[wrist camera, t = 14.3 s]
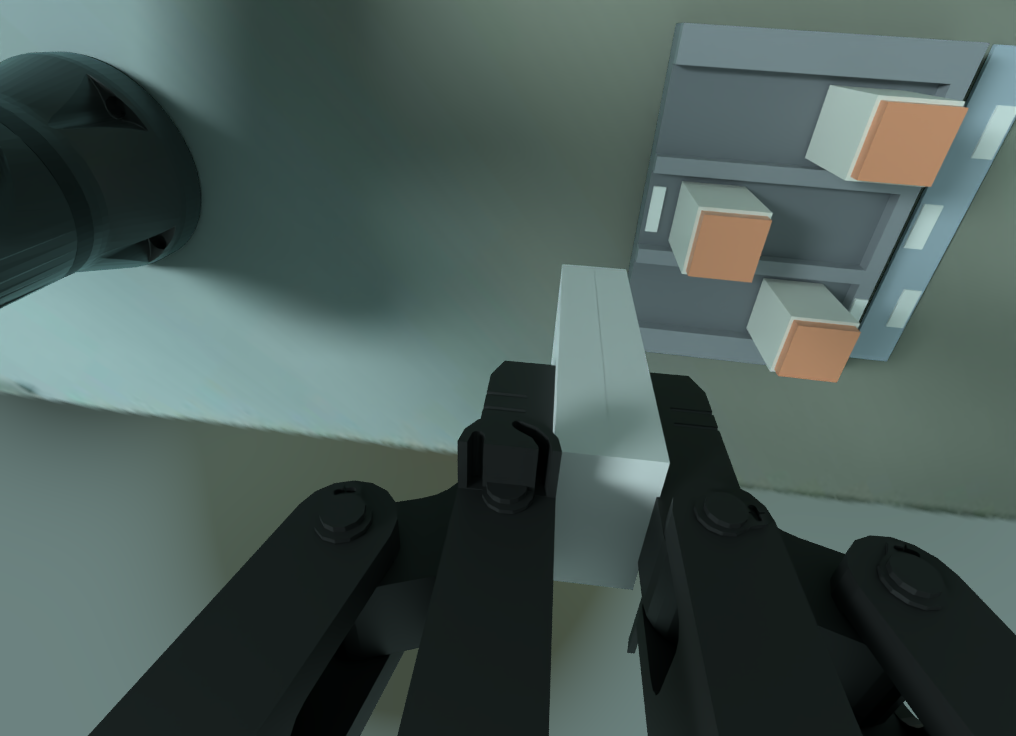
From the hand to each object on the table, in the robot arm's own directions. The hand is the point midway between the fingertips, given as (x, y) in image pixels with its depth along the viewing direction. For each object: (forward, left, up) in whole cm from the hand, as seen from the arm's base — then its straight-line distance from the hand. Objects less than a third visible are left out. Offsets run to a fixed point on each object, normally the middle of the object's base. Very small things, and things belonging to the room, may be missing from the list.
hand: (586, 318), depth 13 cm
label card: (+24, -4, -27) cm, 36 cm away
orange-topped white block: (+9, -4, -25) cm, 27 cm away
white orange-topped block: (+16, +2, -25) cm, 29 cm away
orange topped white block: (+16, -10, -25) cm, 31 cm away
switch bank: (+13, -4, -27) cm, 30 cm away
